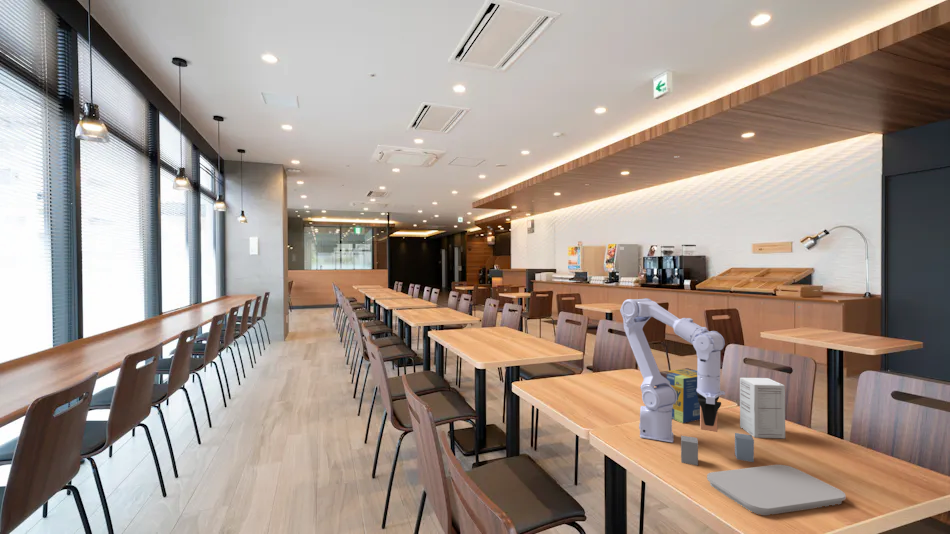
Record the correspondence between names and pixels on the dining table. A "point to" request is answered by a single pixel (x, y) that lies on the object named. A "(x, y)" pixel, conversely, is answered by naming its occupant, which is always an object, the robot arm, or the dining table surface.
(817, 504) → the tablet
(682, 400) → the protein box
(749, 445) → the slate-blue block
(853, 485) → the dining table surface
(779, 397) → the supplement box
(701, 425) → the terracotta block
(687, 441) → the gray block
